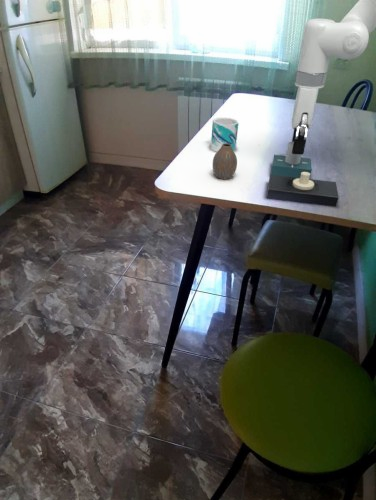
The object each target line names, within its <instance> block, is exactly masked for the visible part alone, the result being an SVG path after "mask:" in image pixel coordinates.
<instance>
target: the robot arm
mask: <svg viewBox="0 0 376 500" xmlns="http://www.w3.org/2000/svg"><path fill="white" fill-rule="evenodd" d="M375 29H376V0H357V2H356V3H355V4H354V6H352V8H351V9H350V10H349V11H348V12H347V14H345V16H344V17H343V18H342V19H341V21H339V22H336V21H335V20H333V19H330V18H321V17H320V18H317V17H316V18H310V19H308V20H307V21H305V24H304V28H303V33H302V40H301V45H300V52H299V56H298V62H297V70H296V74H295V81H294V86H296V87H297V90H296V95H295V100H294V105H293V112H292V117H291V128H292V130H293V133H292V139H291V142H292V141H294V143H293V149H292V154H300V155H302V156H303V155H304V153H305V149H306V144H307V135H308V130H310V129H311V126H312V121H313V117H314V113H315V109H316V104H317V100H318V95H319V90H320V89H323V88H324V87H325V84H326V79H327V75H328V70H329V65H330V60H331V58H337V59H342V60H353V59H354V60H355V59H357V58H358V57H360V56H361V55H362V54H363V53H364V51H366V49H367V48H368V44H369V40H370V34H371V33H372V32H373V31H374V30H375Z"/></svg>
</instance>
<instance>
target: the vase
mask: <svg viewBox="0 0 376 500" xmlns="http://www.w3.org/2000/svg"><path fill="white" fill-rule="evenodd" d="M237 168H238V157H237V154H236V153H235V150H234V151H233V149H232V147H231V145H230V144H227V143H225V144H223V145H222V146H221V148H220V149H219V150H218V151H217V152H216V153H215V154H214V156H213V159H212V171H213V173H214V176H215V177H216V178H218V179H219V180H228V179H231V178H232V177H233V176H234V175H235V173H236V171H237Z"/></svg>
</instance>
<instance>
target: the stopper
mask: <svg viewBox="0 0 376 500" xmlns="http://www.w3.org/2000/svg"><path fill="white" fill-rule="evenodd" d="M309 178H310V179H311V175H310V173H308V172H302V173H301V176H300V178H298V179H295V180H293V186H294V187H295V188H298V189H302V190H310V189H312V188H313V187H314V182H313V181H311V180H309Z"/></svg>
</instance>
